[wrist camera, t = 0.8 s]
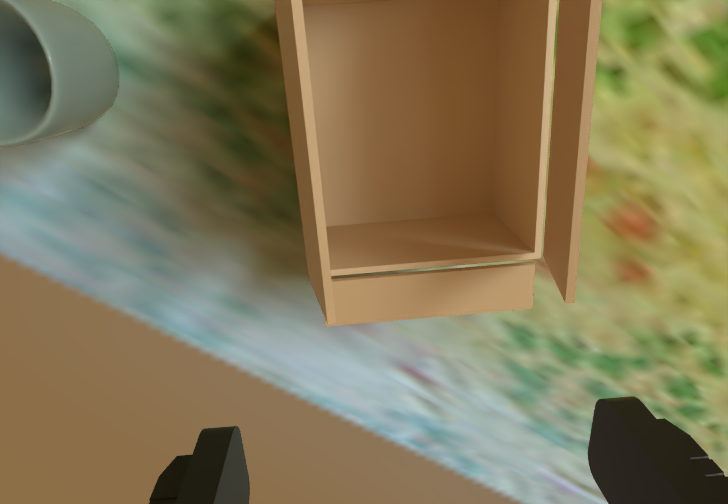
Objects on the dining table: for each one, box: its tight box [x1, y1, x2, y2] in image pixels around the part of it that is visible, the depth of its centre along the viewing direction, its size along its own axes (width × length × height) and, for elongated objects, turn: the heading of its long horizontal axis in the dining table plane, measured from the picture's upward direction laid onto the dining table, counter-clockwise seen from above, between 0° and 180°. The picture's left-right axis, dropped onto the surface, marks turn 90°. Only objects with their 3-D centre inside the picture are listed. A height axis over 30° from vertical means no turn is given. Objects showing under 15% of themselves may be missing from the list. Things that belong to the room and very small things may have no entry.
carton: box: [302, 0, 557, 326], centre depth 31 cm, size 22×14×9 cm, turn 4°
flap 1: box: [274, 0, 336, 324], centre depth 23 cm, size 15×6×1 cm
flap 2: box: [543, 0, 602, 303], centre depth 23 cm, size 15×6×1 cm
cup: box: [0, 0, 119, 147], centre depth 28 cm, size 8×8×10 cm
